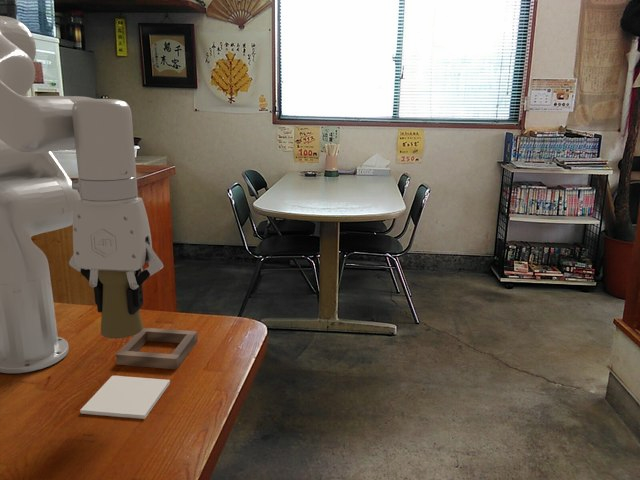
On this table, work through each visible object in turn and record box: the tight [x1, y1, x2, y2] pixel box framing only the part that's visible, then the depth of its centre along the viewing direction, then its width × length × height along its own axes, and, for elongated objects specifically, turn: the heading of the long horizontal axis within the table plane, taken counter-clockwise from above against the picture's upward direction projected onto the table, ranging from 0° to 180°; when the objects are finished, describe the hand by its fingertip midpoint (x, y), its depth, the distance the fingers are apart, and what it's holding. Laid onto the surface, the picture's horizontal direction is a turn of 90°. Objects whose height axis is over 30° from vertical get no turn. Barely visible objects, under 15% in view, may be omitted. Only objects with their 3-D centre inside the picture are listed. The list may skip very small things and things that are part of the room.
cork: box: [98, 270, 144, 340], centre depth 79 cm, size 6×6×11 cm
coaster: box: [79, 375, 171, 420], centre depth 83 cm, size 10×10×1 cm
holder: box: [115, 327, 199, 370], centre depth 98 cm, size 11×11×2 cm
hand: (120, 308), depth 79 cm, fingers closed on cork, 4 cm apart
